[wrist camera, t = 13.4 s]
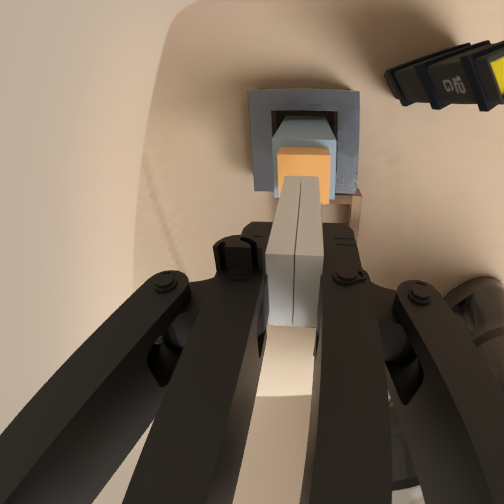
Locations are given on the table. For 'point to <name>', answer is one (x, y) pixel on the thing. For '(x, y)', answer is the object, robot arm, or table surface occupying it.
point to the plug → (305, 153)
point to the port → (315, 99)
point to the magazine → (452, 77)
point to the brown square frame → (350, 208)
